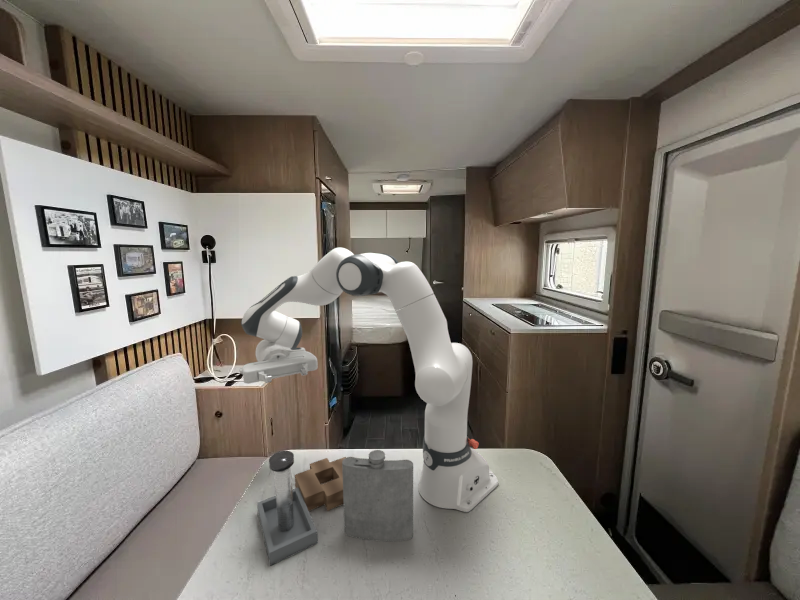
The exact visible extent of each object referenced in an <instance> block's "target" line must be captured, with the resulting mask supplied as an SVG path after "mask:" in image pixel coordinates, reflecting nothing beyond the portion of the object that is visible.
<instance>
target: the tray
mask: <svg viewBox="0 0 800 600" xmlns="http://www.w3.org/2000/svg"><path fill="white" fill-rule="evenodd" d="M292 495H293V510H294V526H293V528H292V529H290V530H289V531H286V532H281V531H279V529H278V520H277V506H276V495H274V496H271V497H268V498H266V499H263V500H260V501H258V502H256V506H257V517H258V519H259V523H260V528H261V532H262V537H263V541H264V545H265V549H266V554H267V557H268V558H267V559H268V562H269V563H268V564H269V566H270V567H271V566H272V565H275V564H277V563H279V562H281V561H283V560H285V559H288V558H290V557H292V556H294V555H296V554H298V553H301V552H302V551H304V550H306V549H309V548H310V547H312V546H314V545H317V544H318V543H319V539H318V538H319V535H318V529H317V527H316V525H315V522H314V521H313V520H314V519H313V518H312V515H311V513H310V511H308V508H307V506H306V504H305V501H304V499H303V497H302V495H301V492H300V490H299V488H298V487H297V488H295V487H294V488H292Z"/></svg>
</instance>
